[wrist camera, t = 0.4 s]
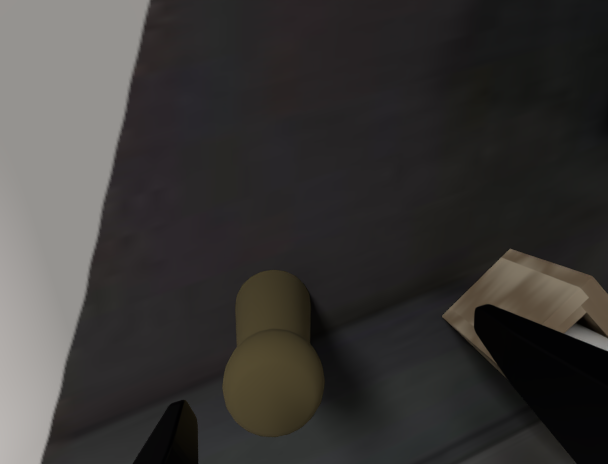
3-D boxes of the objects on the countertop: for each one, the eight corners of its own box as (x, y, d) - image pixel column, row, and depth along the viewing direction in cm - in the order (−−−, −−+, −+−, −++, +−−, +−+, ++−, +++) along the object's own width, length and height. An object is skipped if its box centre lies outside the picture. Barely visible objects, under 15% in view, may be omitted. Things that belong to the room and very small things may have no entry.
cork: (311, 269, 25) (341, 343, 14) (310, 338, 26) (336, 455, 16) (234, 270, 25) (205, 348, 14) (236, 341, 26) (210, 464, 15)
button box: (591, 460, 32) (678, 539, 25) (441, 316, 27) (498, 365, 20) (652, 406, 31) (758, 472, 25) (509, 248, 27) (592, 276, 20)
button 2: (552, 391, 23) (627, 451, 18) (510, 350, 22) (578, 401, 17) (606, 341, 23) (698, 389, 18) (566, 296, 22) (652, 333, 17)
